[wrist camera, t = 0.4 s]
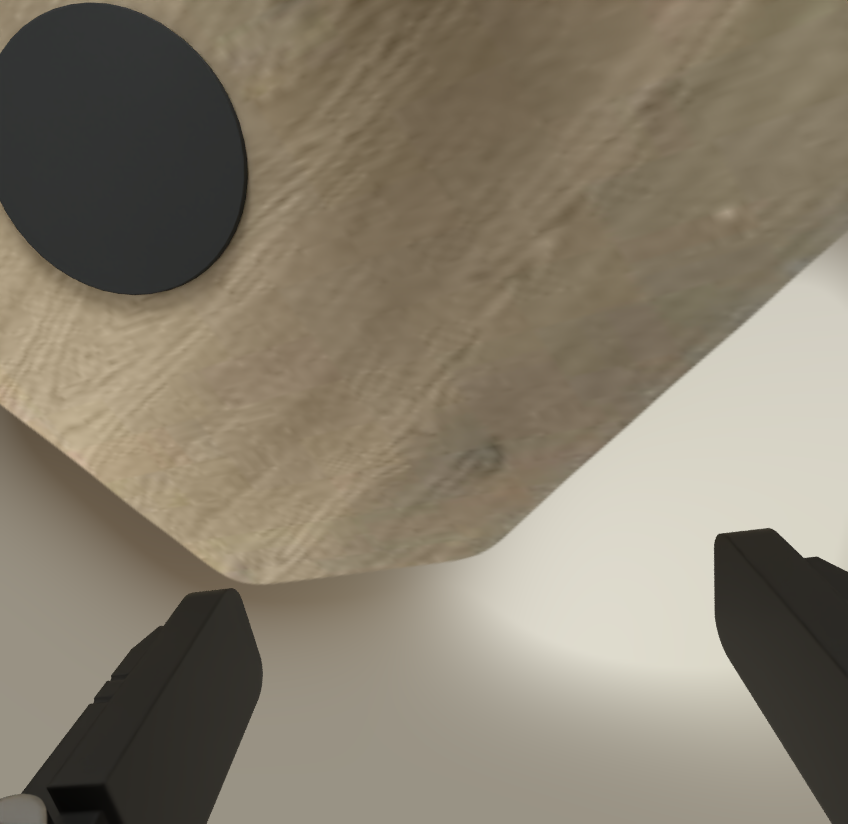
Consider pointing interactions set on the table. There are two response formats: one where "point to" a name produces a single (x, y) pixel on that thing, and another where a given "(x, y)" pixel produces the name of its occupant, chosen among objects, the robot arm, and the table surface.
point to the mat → (118, 149)
